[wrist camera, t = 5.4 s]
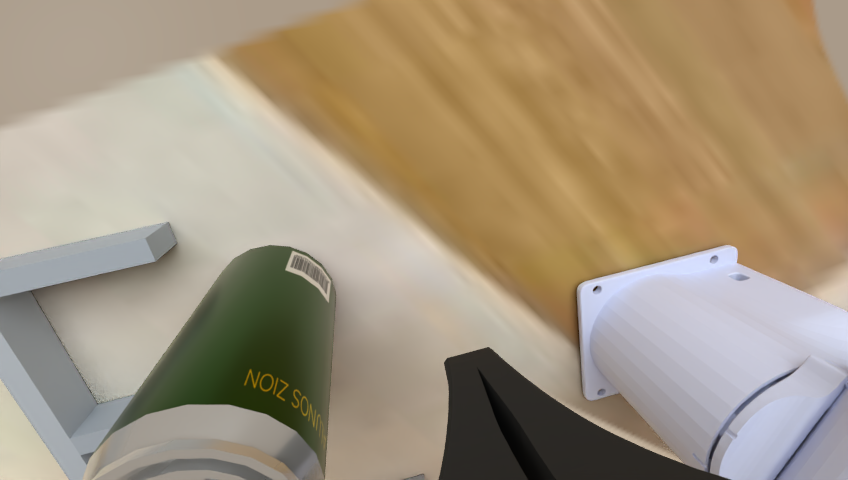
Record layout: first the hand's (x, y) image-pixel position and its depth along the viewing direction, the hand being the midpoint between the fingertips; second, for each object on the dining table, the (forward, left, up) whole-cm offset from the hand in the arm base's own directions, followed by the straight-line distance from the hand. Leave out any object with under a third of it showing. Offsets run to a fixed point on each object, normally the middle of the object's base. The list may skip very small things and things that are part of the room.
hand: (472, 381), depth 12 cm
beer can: (+7, 0, -10) cm, 12 cm away
